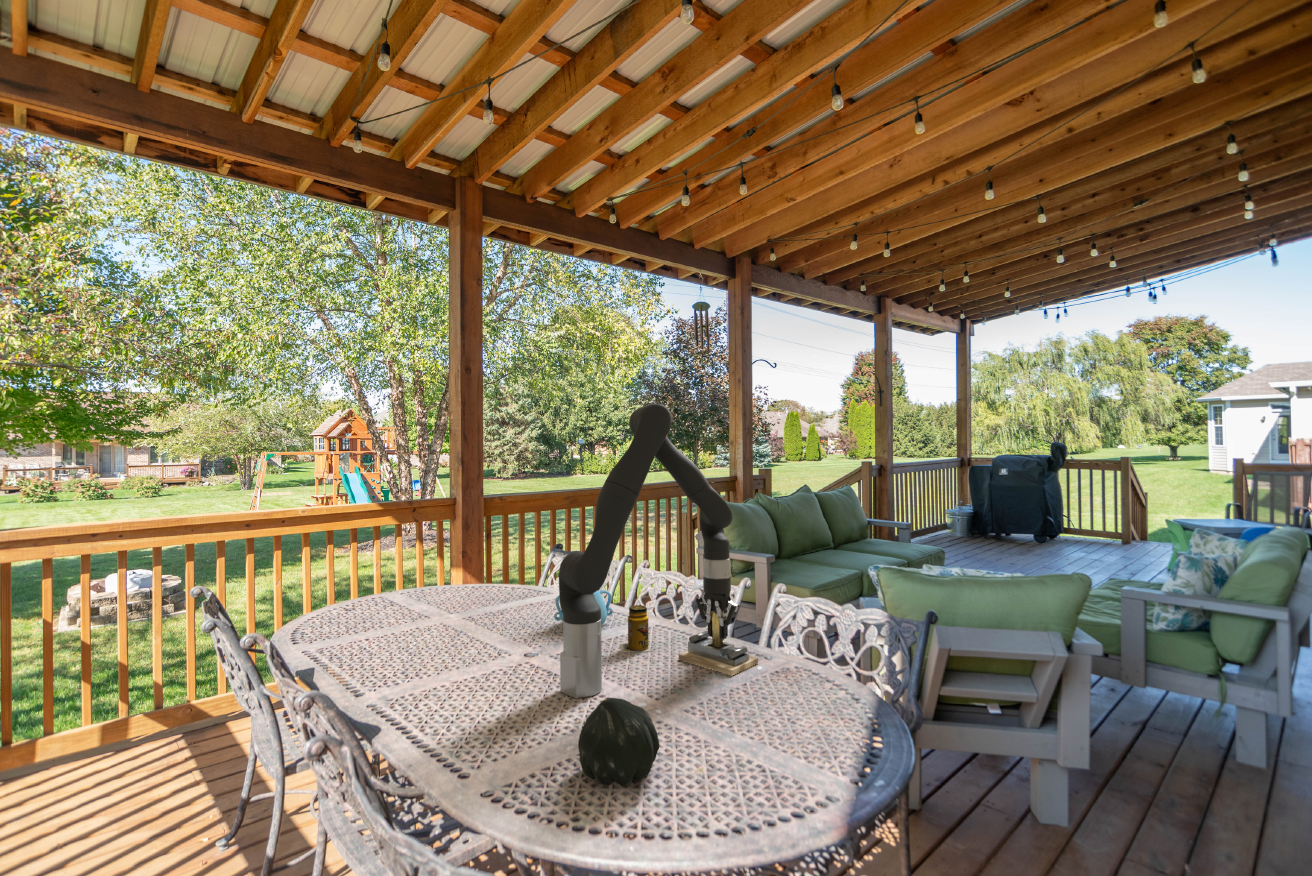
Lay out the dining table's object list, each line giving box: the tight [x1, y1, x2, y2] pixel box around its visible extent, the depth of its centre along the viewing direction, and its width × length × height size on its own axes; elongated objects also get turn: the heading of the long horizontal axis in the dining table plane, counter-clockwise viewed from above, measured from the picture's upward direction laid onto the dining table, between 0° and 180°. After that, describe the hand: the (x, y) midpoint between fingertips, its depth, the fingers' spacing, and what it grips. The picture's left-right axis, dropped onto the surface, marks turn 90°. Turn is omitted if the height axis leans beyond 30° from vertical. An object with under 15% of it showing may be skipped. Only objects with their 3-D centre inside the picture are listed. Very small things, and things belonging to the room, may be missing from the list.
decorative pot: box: [553, 589, 614, 627], centre depth 200 cm, size 20×20×14 cm
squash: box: [577, 697, 660, 787], centre depth 110 cm, size 14×15×15 cm
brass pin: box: [711, 611, 725, 647], centre depth 166 cm, size 3×3×9 cm
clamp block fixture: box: [678, 630, 759, 677], centre depth 166 cm, size 12×18×6 cm, turn 47°
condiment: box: [619, 604, 652, 654], centre depth 178 cm, size 7×8×12 cm
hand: (717, 637), depth 166 cm, fingers closed on brass pin, 3 cm apart
